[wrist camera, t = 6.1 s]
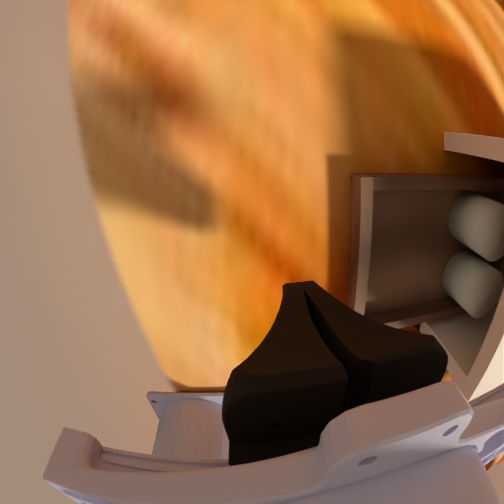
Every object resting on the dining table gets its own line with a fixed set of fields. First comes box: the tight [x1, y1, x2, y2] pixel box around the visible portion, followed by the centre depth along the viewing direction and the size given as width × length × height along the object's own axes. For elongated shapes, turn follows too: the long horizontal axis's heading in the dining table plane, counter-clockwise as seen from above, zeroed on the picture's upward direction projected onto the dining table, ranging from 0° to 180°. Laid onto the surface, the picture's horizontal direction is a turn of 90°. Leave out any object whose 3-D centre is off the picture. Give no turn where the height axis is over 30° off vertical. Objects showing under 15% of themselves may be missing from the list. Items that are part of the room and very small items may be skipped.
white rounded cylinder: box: [441, 250, 503, 318], centre depth 15 cm, size 4×4×4 cm
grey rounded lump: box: [448, 191, 504, 262], centre depth 14 cm, size 4×4×4 cm
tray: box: [346, 173, 504, 329], centre depth 16 cm, size 10×14×2 cm
